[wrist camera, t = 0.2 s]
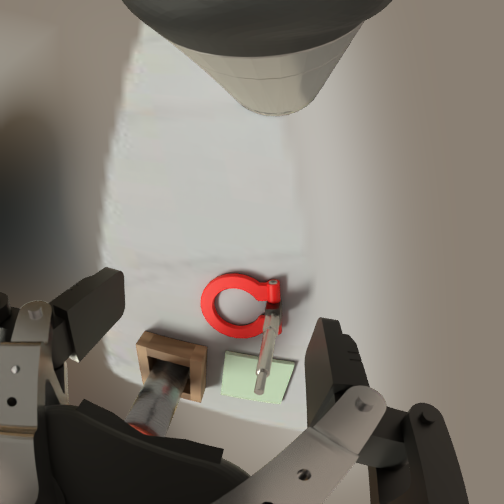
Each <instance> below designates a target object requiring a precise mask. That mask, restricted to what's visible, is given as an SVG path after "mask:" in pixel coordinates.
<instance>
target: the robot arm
mask: <svg viewBox="0 0 504 504" xmlns="http://www.w3.org/2000/svg"><path fill="white" fill-rule="evenodd" d="M122 1H123V2H124V4H125V5H126V6H127V7H128V9H129V10H130V11H131V12H132V13H133V14H134V15H136V16H137V17H138V18H139V19H140V20H142V21H143V22H144V23H145V24H147V25H148V26H149V27H151V28H152V29H154V30H155V31H156V32H158V33H159V34H160V35H161V36H163V37H164V38H165V39H166V40H168V41H169V42H170V43H172V44H173V45H174V46H175V47H177V48H178V49H179V50H180V51H181V52H183V53H184V54H185V55H187V56H188V57H189V58H190V59H191V60H193V61H194V62H195V63H196V64H197V65H198V66H199V67H201V68H202V69H203V70H204V71H205V72H206V73H207V74H209V75H210V76H211V77H212V78H213V79H214V80H215V81H216V82H217V83H218V84H220V85H221V86H222V87H223V88H224V89H225V90H226V91H227V92H228V93H229V94H230V95H231V96H232V97H233V98H234V99H235V100H236V101H238V102H239V103H240V104H241V105H242V106H244V107H245V108H247V109H248V110H251V111H253V112H255V113H257V114H262V115H266V116H283V115H289V114H291V113H295V112H297V111H299V110H301V109H303V108H304V107H306V106H307V105H308V104H309V103H310V102H312V101H313V100H314V98H315V97H316V95H317V94H318V93H319V91H320V89H321V88H322V87H323V85H324V83H325V82H326V80H327V78H328V77H329V76H330V74H331V72H332V71H333V69H334V68H335V66H336V64H337V63H338V62H339V60H340V58H341V57H342V55H343V54H344V52H345V51H346V49H347V48H348V46H349V45H350V43H351V41H352V39H353V38H354V36H355V35H356V33H357V32H358V30H359V29H360V27H361V25H362V24H363V23H364V21H365V20H367V19H369V18H371V17H372V16H374V15H376V14H377V13H379V12H380V11H381V10H383V9H384V8H385V7H386V6H387V5H388V4H389V3H390V2H391V1H392V0H122ZM124 309H125V291H124V275H123V272H122V271H119V270H115V269H112V268H108V267H105V268H103V269H102V270H100V271H99V272H98V273H96V274H95V275H93V276H89V277H87V278H84V279H82V280H81V281H79V282H78V283H76V285H73V286H72V287H71V288H70V289H68V290H66V291H65V292H64V293H62V294H61V295H59V296H58V297H57V298H55V299H54V300H52V301H51V302H50V303H47V302H45V301H32V302H29V303H26V304H25V305H23V306H22V307H21V308H20V309H19V308H14V307H10V303H9V299H8V296H7V295H6V294H4V293H2V292H0V504H322V503H323V502H324V501H325V499H327V498H328V496H329V495H330V494H331V493H332V492H333V491H334V489H335V488H336V487H337V486H338V484H339V483H340V482H341V480H342V479H343V478H344V477H345V476H346V474H347V473H348V472H349V470H350V469H351V468H352V466H353V465H354V464H355V462H356V463H360V464H364V465H368V471H369V485H370V501H371V504H469V502H468V497H467V493H466V489H465V485H464V481H463V477H462V473H461V470H460V466H459V463H458V460H457V456H456V453H455V450H454V447H453V444H452V441H451V438H450V435H449V432H448V430H447V427H446V424H445V422H444V419H443V416H442V415H441V413H440V412H439V411H438V409H436V408H435V407H434V406H432V405H430V404H426V403H418V404H415V405H413V406H412V407H411V409H410V410H409V411H408V412H404V411H400V410H397V409H393V408H390V407H387V406H386V401H385V399H384V398H383V396H382V395H381V394H380V393H379V392H378V391H376V390H374V389H372V388H370V386H369V383H368V380H367V377H366V373H365V370H364V367H363V363H362V362H361V357H360V354H359V351H358V348H357V345H356V343H355V342H354V340H353V339H352V338H351V337H350V336H349V335H347V334H342V330H341V327H340V323H339V321H338V320H333V319H327V318H321V317H320V318H319V319H318V321H317V323H316V326H315V329H314V332H313V334H312V337H311V340H310V343H309V345H308V348H307V351H306V355H305V379H306V400H307V429H306V430H305V431H304V432H303V433H302V434H300V435H299V436H298V437H297V438H296V439H295V440H294V441H293V442H292V443H291V444H290V445H289V446H287V447H286V448H285V449H284V450H283V451H282V452H281V453H279V454H278V455H277V456H276V457H275V458H273V459H272V460H271V461H270V462H269V463H268V464H266V465H265V466H264V467H262V468H261V469H260V470H259V471H257V472H256V473H255V474H253V475H252V476H250V475H249V474H248V473H246V472H245V471H244V470H242V469H241V468H240V467H238V466H236V465H235V464H233V463H231V462H229V461H227V460H225V459H223V458H222V454H223V450H224V449H222V448H217V447H212V446H209V445H205V444H200V443H197V442H193V441H189V440H186V439H176V438H167V437H159V436H152V435H146V434H143V433H141V432H139V431H138V430H137V429H135V428H134V427H132V426H131V425H129V424H128V423H126V422H125V421H124V420H122V419H121V418H119V417H118V416H117V415H115V414H114V413H112V412H110V411H108V410H106V409H104V408H101V407H100V406H98V405H95V404H93V403H91V402H89V401H87V400H85V399H84V400H83V401H82V402H81V404H80V405H79V406H73V405H69V398H68V383H67V382H68V381H67V364H66V360H67V359H68V358H71V359H73V360H75V361H77V362H80V361H81V360H82V359H83V358H84V357H85V356H86V355H87V353H88V352H89V351H90V350H91V349H92V348H93V347H94V346H95V345H96V344H97V343H98V341H99V340H100V339H101V338H102V337H103V336H104V335H105V334H106V333H107V332H108V331H109V330H110V329H111V327H112V326H113V325H114V324H115V323H116V322H117V321H118V320H119V319H120V318H121V317H122V315H123V313H124ZM408 463H409V464H408Z"/></svg>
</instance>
